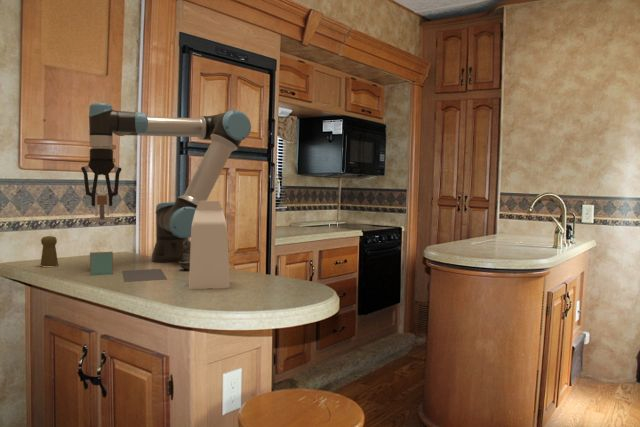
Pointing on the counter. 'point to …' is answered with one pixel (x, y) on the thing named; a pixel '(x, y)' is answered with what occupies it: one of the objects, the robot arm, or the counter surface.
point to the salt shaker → (186, 255)
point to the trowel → (102, 210)
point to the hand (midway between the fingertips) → (102, 215)
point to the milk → (209, 247)
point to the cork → (49, 251)
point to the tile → (101, 263)
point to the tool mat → (143, 275)
